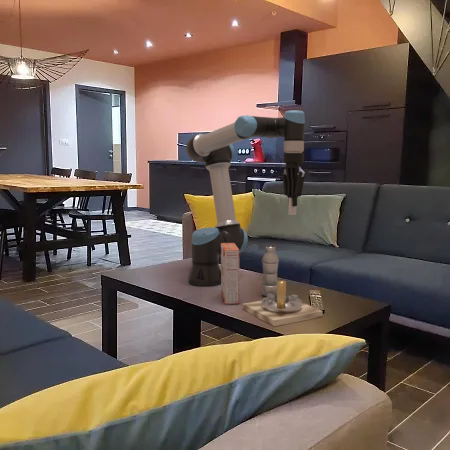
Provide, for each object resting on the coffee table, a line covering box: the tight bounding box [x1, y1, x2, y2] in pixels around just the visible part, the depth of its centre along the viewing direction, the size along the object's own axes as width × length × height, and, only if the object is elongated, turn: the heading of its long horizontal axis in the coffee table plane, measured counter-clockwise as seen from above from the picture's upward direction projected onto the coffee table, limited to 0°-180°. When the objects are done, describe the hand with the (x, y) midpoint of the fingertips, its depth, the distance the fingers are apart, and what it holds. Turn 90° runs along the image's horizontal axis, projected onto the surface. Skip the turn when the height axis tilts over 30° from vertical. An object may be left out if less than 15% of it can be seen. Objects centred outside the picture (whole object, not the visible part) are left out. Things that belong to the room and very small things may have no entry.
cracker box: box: [220, 243, 240, 305], centre depth 181 cm, size 14×6×21 cm, turn 6°
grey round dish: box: [261, 280, 303, 313], centre depth 164 cm, size 16×14×11 cm
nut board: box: [242, 300, 324, 327], centre depth 166 cm, size 20×20×2 cm
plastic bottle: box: [261, 244, 280, 297], centre depth 185 cm, size 6×7×20 cm
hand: (292, 214), depth 182 cm, fingers closed
